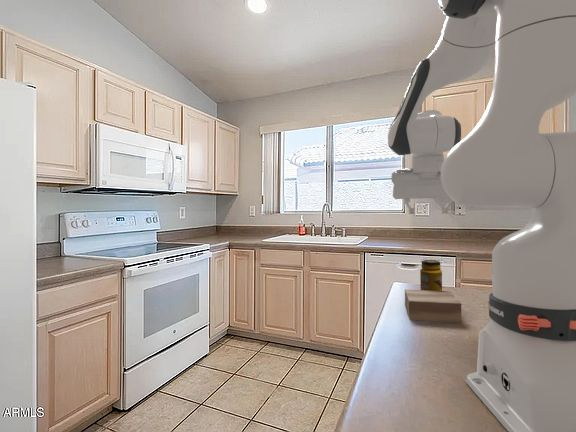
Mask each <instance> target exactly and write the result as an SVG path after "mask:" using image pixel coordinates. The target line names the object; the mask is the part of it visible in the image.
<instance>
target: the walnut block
mask: <svg viewBox="0 0 576 432" xmlns="http://www.w3.org/2000/svg"><path fill="white" fill-rule="evenodd" d="M404 307H405V310H406V313H407V317H408V319H409V320H412V321H413V320H414V321H415V320H416V321H427V322H428V321H430V322H431V321H433V322H446V323H447V322H449V323H459V324H460V323H462V303H461V301H459V300H458V298H457V297H456V296H455V295H454V294H453V293H452V291H450V290H449V291H448V290H442V291H430V290H421V289H404Z"/></svg>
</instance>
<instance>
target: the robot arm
mask: <svg viewBox="0 0 576 432" xmlns="http://www.w3.org/2000/svg"><path fill="white" fill-rule="evenodd" d="M438 7H439V9H440V10H441V11H442V13H443V15H445V16H446V18H445V20H444V24H443V28H442V30H441V35H440V38H439V40H438V42H437V44H436V45H435V47H434V48H433V50H432V51H431V53H430V54H429V55H428V56H427V57H426V58H424V59H423V60H421V61H420V62H419V63H418V65H417V66H416V68H415V70H414V72H413V74H412V76H411V79H410V81H409V84H408V86H407V88H406V91H405V94H404V95H403V98H402V101H401V104H400V106H399V108H398V111H397V112H396V116H395V118H394V119H393V121H392V123H391V125H390V127H389V130H388V134H387V143H388V144H387V145H388V148H389V149H390V150H391V151H392V152H393V153H395V154H396V155H397V156H405V155H406V156H407V155H411V154H412V156H411V168H402V169H401V168H398V169H396V170H394V171H393V172H392V173H391V183H392V184H393V187H392V188H393V189H392V197H393V198H394V200H404V204H405V205H406V207H407V209H408V214H409V215H414V214H415V208H414V207H412V206H411V205H410V203H411V200H412V199H413V200H414V199H415V200H417V199H418V200H419V199H445V202H446V205H445V206H444V207H441V213H442V214H449V208H450V206H451V205H452V203H453V202H454V204H458V205H459V204H460V205H464V206H469V207H476V208H483V209H506V208H507V209H510V208H511V209H512V208H513V209H514V208H519V209H521V208H532V213H531V215H530V216H531V217H530V219H529V221H528V222H527V223H526V225H524V227H523V228H521V229H518V230H517V231H514V232H512V233H510V234H508V235H506V236H504V237H502V238H501V239H500V240H499V241H498V242H497V243H496V245H494V248H493V250H492V253H491V280H492V281H491V284H492V285H491V288H492V289H491V293H489V295H488V298H489V299H488V305H487V307H488V316H489V318H490V320H489V321H488V323H487V325H486V326H485V327H483V328H481V330H479V332H478V343H477V346H478V347H477V361H476V364H477V365H476V371H474V372H470V373H468V374H467V375H466V381H465V382H466V384H467V385H468V386H469V388H470V389H471V390H472V391H473V393H474V394H475V395H477V397H478V398H479V400H480V401H482V402H483V404H484V405H485V406H486V407H487V409H488V410H489V411H490V412H491V413H492V415H494V417H495V418H496V419H497V420H498V421H499V422H500V424H501V425H502V426H503V428H504V429H505V430H506V431H507V432H576V130H575V131H559V132H545V133H544V132H543V133H540V124H541V121H542V118H543V116H544V115H545V113H546V112H547V111H549V110H551V109H554V108H555V107H558V106H559V105H561V104H562V103H564V102H565V101H568V100H569V99H571V98H573V97H574V96H575V95H576V0H438ZM493 53H494V62H493V63H494V65H493V75H492V84H491V93H490V97H489V101H488V104H487V106H486V108H485V111H484V112H483V115H482V116H481V118H480V119H479V121H478V123H477V124H476V126H474V128H473V129H472V130H471V131H470V132H469V133H468V134H467V135H466V136H465V137H464V138H462V125H461V123H460V122H459V120H458V119H457V118H456V117H455V116H451V115H443V114H442V113H441V112H440V111H439V110H436V109H430V110H424V111H421V112H420V110H421V108H422V105H423V104H424V102H425V100H426V99H427V98H428V96H430V95H431V94H432V93H433V92H435V91H438V90H440V89H441V88H444V87H447V86H449V85H452V84H455V83H457V82H461V81H464V80H467V79H468V78H471V77H472V76H474V75H476V74H477V73H478V72H479V71H481V70H482V69H483V68H485V66H486V65H487V64H488V62H489V61H490V60H491V58H492V55H493ZM461 139H462V140H461ZM445 152H447V154H446V155H444V153H445Z"/></svg>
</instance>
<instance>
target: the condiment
mask: <svg viewBox="0 0 576 432" xmlns="http://www.w3.org/2000/svg"><path fill="white" fill-rule="evenodd" d="M419 274H420V275H419V276H420V278H419V279H420V283H419V284H420V289H419V290H430V291H443V272H442V269H441V261H439V260H435V259H423V260H421V268H420V272H419Z"/></svg>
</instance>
